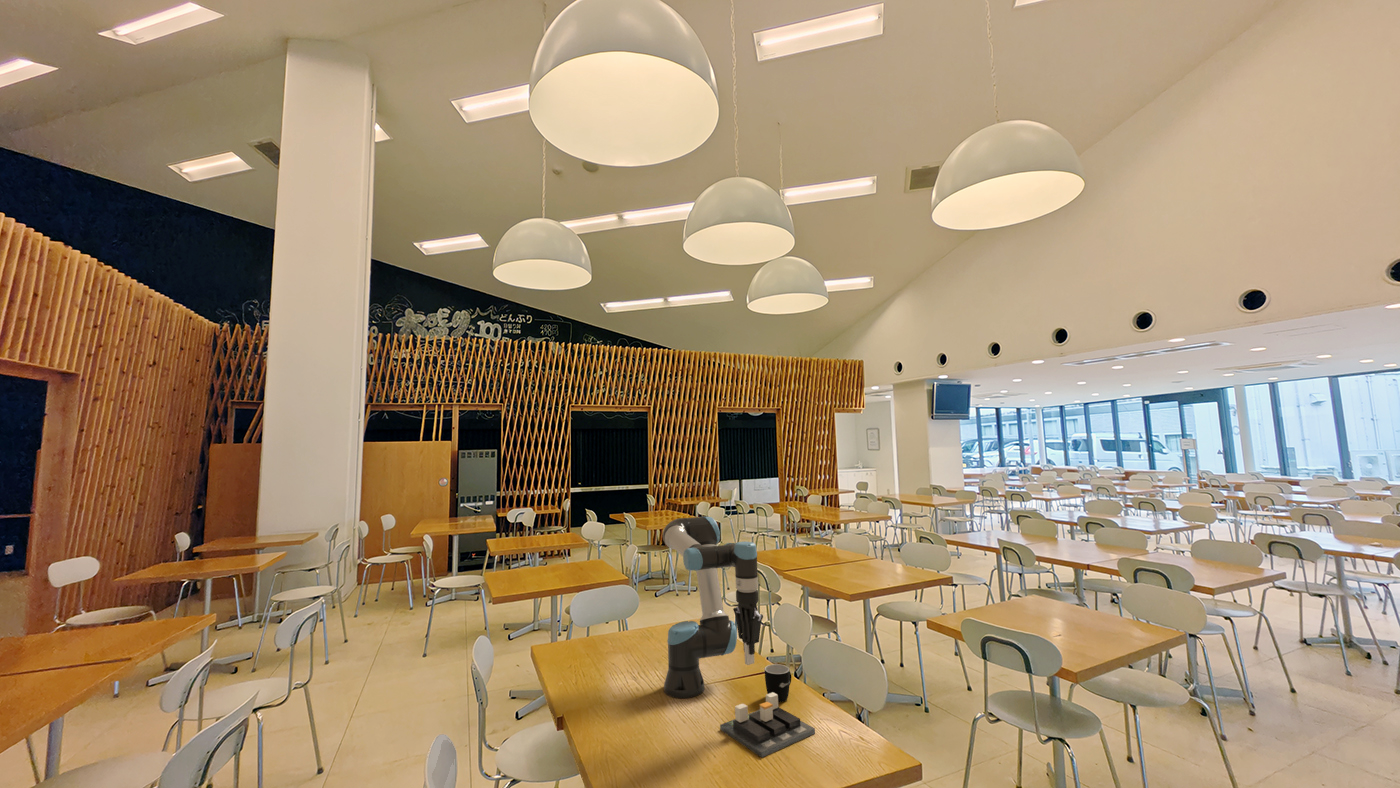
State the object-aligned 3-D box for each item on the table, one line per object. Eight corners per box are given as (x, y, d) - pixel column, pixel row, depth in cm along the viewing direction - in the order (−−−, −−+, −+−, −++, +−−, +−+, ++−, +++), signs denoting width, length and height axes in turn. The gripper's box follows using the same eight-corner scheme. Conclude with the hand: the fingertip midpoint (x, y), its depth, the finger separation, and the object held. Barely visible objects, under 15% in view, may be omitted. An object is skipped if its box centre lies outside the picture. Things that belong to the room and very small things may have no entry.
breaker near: (735, 719, 168) (735, 706, 169) (743, 716, 170) (742, 703, 170) (740, 722, 166) (739, 709, 167) (748, 719, 168) (747, 706, 169)
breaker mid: (760, 718, 168) (759, 704, 169) (767, 715, 170) (767, 701, 171) (765, 722, 166) (764, 707, 167) (773, 718, 168) (772, 704, 169)
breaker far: (766, 707, 176) (765, 694, 176) (773, 704, 177) (772, 692, 178) (771, 710, 174) (770, 697, 174) (778, 707, 175) (777, 694, 176)
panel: (720, 729, 170) (720, 718, 170) (771, 709, 182) (771, 698, 182) (761, 757, 153) (761, 744, 154) (815, 733, 166) (814, 721, 166)
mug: (779, 706, 184) (778, 676, 185) (760, 698, 191) (759, 668, 192) (801, 695, 192) (799, 666, 193) (781, 688, 199) (780, 659, 200)
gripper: (726, 587, 182) (728, 660, 179) (751, 595, 171) (754, 672, 168) (743, 584, 186) (745, 654, 183) (768, 591, 175) (771, 666, 173)
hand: (749, 663), depth 176 cm, fingers closed
